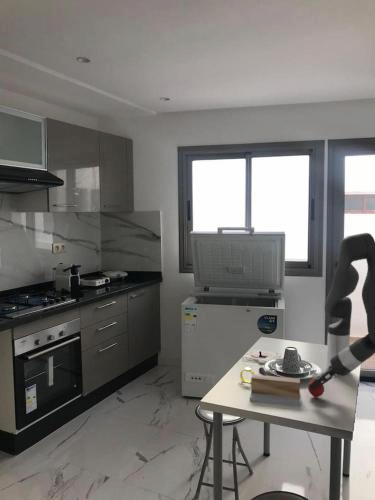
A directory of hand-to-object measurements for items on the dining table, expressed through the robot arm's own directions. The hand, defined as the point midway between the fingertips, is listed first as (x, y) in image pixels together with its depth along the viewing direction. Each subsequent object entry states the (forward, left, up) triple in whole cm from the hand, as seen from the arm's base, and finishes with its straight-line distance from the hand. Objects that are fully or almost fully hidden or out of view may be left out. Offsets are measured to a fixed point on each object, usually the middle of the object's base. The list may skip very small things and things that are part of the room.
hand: (314, 383), depth 163 cm
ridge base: (+3, -15, -5) cm, 16 cm away
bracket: (-15, -19, -6) cm, 24 cm away
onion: (0, +1, -6) cm, 6 cm away
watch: (-8, -26, -6) cm, 28 cm away
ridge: (+3, -15, -4) cm, 15 cm away
